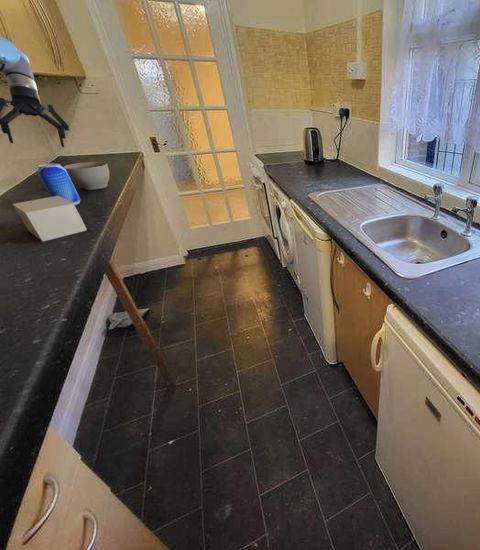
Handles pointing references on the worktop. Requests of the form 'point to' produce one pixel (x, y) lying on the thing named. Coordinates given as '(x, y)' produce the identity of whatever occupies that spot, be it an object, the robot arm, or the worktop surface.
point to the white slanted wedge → (50, 217)
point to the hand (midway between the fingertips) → (38, 143)
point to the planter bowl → (89, 174)
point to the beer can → (58, 182)
